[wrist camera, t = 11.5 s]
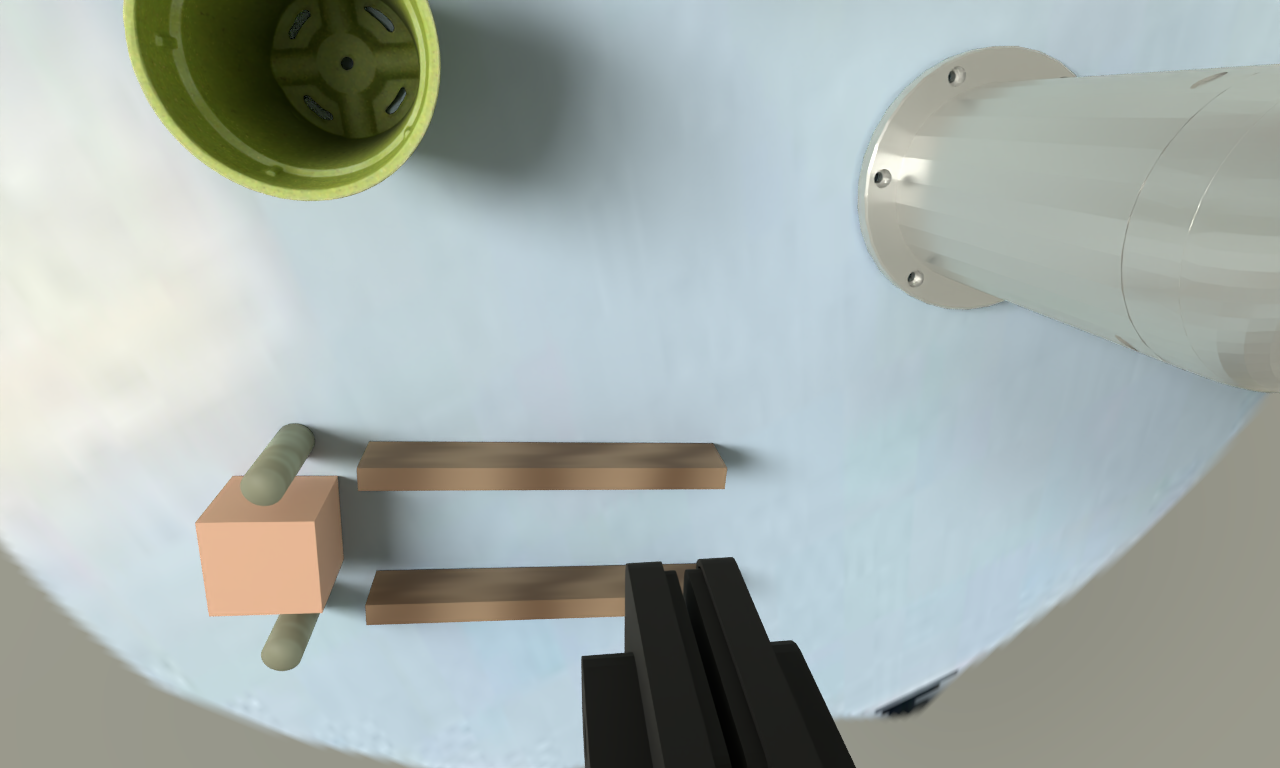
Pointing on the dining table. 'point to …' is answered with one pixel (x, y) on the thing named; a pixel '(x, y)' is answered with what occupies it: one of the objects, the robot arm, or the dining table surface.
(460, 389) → the dining table surface
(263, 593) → the block
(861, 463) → the dining table surface
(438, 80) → the plant pot
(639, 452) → the chute
